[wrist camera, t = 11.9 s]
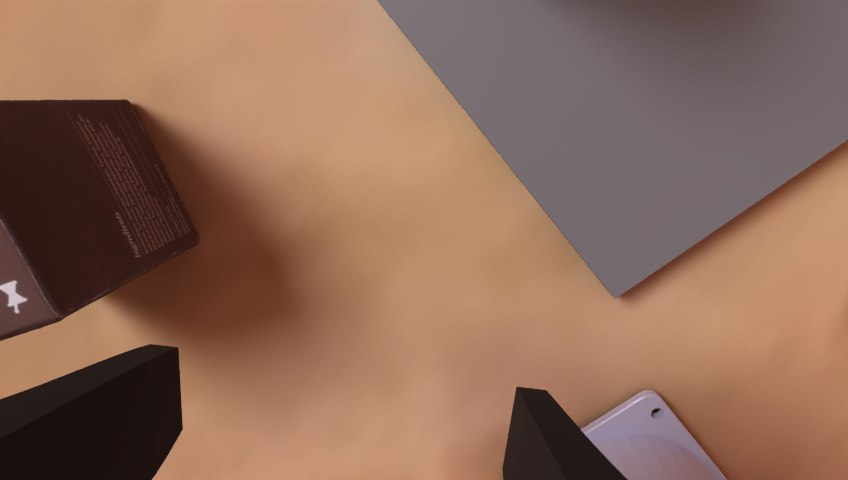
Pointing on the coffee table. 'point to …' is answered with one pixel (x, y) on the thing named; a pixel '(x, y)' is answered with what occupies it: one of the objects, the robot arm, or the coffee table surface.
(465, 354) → the coffee table surface
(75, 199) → the box
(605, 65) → the board
